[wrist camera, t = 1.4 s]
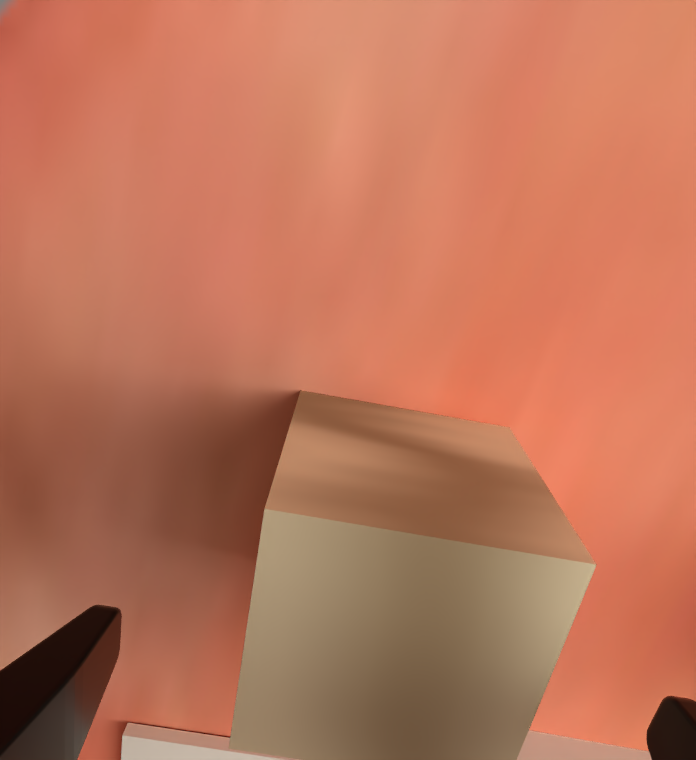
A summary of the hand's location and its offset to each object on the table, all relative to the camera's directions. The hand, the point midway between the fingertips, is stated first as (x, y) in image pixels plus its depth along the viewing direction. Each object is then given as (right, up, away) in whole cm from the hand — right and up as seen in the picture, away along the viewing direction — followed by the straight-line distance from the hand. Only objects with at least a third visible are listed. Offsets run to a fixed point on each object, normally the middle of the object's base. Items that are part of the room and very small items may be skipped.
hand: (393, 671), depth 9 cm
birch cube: (0, +2, +5) cm, 5 cm away
